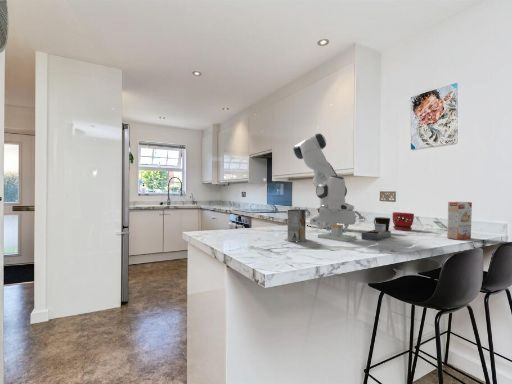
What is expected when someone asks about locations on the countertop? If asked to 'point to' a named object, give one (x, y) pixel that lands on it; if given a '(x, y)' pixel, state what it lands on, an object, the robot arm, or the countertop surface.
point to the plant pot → (403, 221)
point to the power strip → (375, 235)
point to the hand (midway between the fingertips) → (336, 231)
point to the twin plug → (380, 227)
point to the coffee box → (296, 224)
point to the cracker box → (459, 220)
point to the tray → (345, 237)
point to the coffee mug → (382, 221)
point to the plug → (337, 230)
